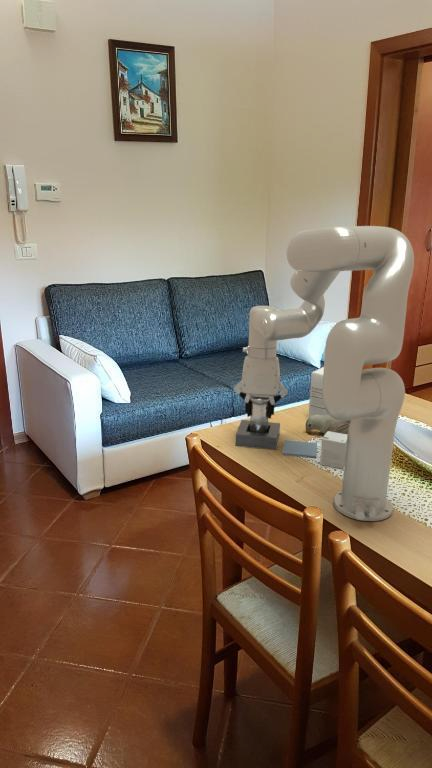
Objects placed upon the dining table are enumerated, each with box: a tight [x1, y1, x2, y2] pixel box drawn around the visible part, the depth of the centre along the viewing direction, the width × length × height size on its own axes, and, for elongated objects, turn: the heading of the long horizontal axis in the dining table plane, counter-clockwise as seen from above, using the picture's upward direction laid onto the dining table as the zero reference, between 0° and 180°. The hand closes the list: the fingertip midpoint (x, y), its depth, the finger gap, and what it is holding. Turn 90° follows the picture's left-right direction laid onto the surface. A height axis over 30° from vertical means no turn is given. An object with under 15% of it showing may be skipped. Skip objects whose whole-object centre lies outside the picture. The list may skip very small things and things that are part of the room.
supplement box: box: [308, 366, 329, 418], centre depth 175 cm, size 9×9×15 cm
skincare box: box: [319, 431, 348, 470], centre depth 144 cm, size 6×6×7 cm
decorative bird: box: [305, 414, 351, 435], centre depth 161 cm, size 5×16×8 cm, turn 73°
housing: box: [234, 419, 281, 451], centre depth 158 cm, size 11×11×4 cm
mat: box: [281, 439, 318, 459], centre depth 152 cm, size 9×9×1 cm
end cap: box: [249, 394, 270, 433], centre depth 155 cm, size 6×6×10 cm
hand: (259, 415), depth 156 cm, fingers closed on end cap, 5 cm apart
